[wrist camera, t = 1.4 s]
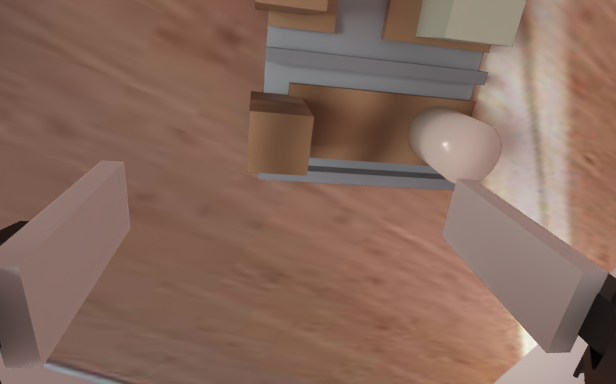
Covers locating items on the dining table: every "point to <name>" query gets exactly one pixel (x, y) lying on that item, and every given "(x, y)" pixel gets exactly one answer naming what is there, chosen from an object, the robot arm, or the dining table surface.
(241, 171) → the dining table surface
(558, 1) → the dining table surface
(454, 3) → the sage block
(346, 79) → the lane board
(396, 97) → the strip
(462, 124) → the cream rounded capsule
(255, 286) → the dining table surface
